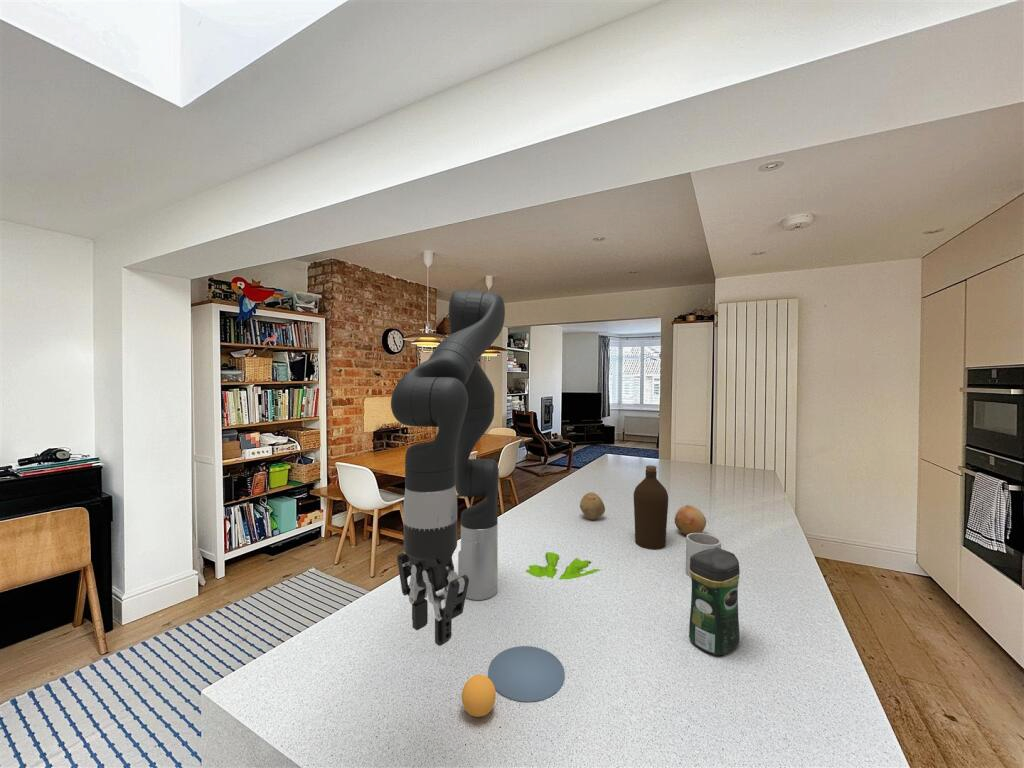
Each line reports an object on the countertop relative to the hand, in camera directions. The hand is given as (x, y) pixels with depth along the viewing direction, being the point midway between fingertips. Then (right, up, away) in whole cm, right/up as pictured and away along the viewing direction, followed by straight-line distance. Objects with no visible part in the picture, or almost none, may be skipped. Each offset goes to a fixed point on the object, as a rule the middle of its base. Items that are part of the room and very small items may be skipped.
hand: (431, 633), depth 60 cm
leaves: (+27, -17, +59) cm, 67 cm away
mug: (+65, -16, +54) cm, 86 cm away
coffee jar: (+53, -17, +25) cm, 61 cm away
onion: (+72, -16, +82) cm, 110 cm away
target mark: (+14, -17, +17) cm, 28 cm away
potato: (+42, -15, +97) cm, 106 cm away
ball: (+6, -14, +8) cm, 17 cm away
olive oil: (+56, -16, +74) cm, 94 cm away
